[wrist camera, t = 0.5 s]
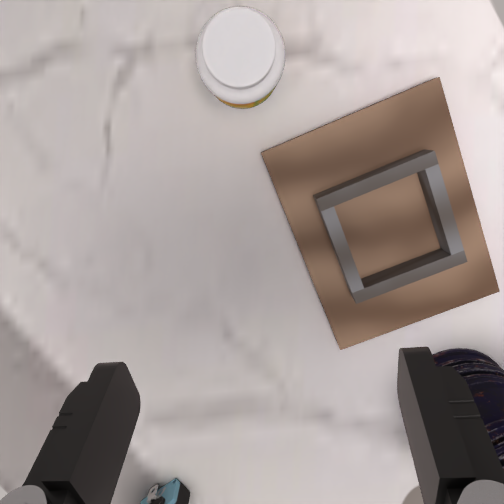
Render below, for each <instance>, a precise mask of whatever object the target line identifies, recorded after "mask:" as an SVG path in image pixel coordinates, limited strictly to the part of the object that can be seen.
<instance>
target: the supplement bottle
mask: <svg viewBox="0 0 504 504" xmlns="http://www.w3.org/2000/svg"><path fill="white" fill-rule="evenodd" d="M196 64H197V69H198V72H199V74H200V77H201V79H202V81H203V82H204V84H205V86H206V87H207V88H208V89H209V90H210V92H211V93H213V94H214V95H215V96H216V97H217V98H218V99H219V100H220V101H221V102H223V103H224V104H226V105H228V106H231V107H234V108H240V109H245V108H251V107H254V106H257V105H259V104H261V103H262V102H264V101H265V100H266V99H267V98H268V97H269V96H270V95H271V93H272V92H273V90H274V89H275V87H276V85H277V83H278V82H279V80H280V78H281V76H282V73H283V69H284V65H285V46H284V41H283V38H282V36H281V33H280V31H279V29H278V28H277V26H276V25H275V24H274V22H273V21H272V20H271V19H270V18H269V17H268V16H267V15H265V14H264V13H262V12H260V11H259V10H256V9H254V8H250V7H245V6H236V7H230V8H226V9H224V10H222V11H220V12H218V13H216V14H215V15H214V16H213V17H211V18H210V19H209V20H208V22H207V23H206V24H205V26H204V27H203V29H202V31H201V32H200V35H199V37H198V41H197V45H196Z"/></svg>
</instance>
